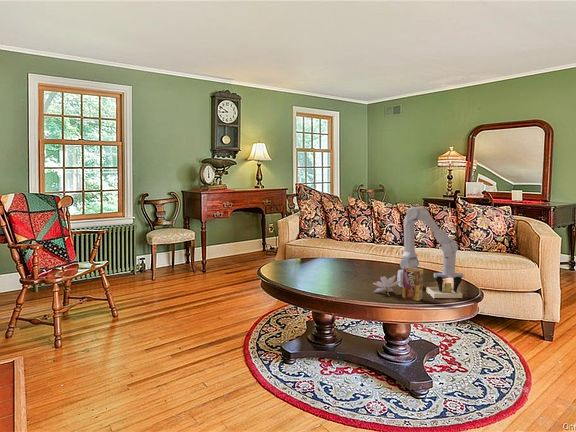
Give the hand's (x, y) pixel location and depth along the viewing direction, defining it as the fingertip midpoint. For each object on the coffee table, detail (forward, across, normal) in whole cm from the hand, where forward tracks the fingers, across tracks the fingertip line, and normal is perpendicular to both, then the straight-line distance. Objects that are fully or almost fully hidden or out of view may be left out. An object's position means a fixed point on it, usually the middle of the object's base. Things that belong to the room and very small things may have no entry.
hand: (447, 291), depth 216 cm
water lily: (+2, -31, +2) cm, 31 cm away
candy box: (+2, -20, -6) cm, 21 cm away
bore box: (+2, -2, 0) cm, 3 cm away
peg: (+2, 0, 0) cm, 2 cm away
